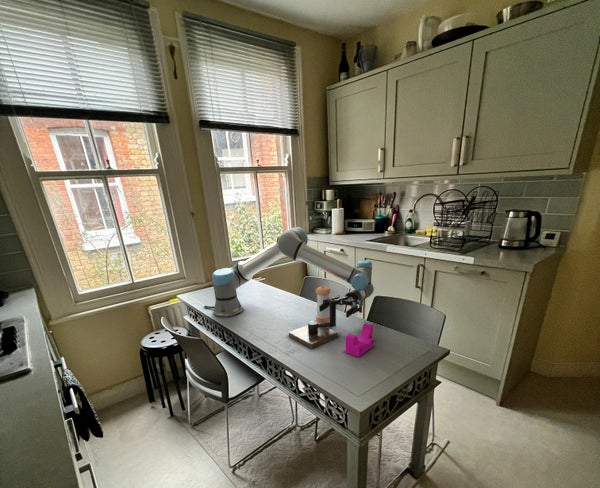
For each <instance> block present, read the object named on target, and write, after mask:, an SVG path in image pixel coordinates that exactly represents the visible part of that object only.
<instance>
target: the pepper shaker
mask: <svg viewBox="0 0 600 488" xmlns="http://www.w3.org/2000/svg"><path fill="white" fill-rule="evenodd" d="M330 293H331V289H330V287H329V286H326V285H323V284H322V285H321V286H318V287H317V288H316V289H315V294H316V296H317V299H316V300H317V301H316V302H317V303H316V316H315V321H317V322H318V323H330V306H328V308H326V309H324V310H323V311H321V312H320V308H319V306H320V305H322V304H323V300H327V299H329V298H330V296H329V295H330Z"/></svg>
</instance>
